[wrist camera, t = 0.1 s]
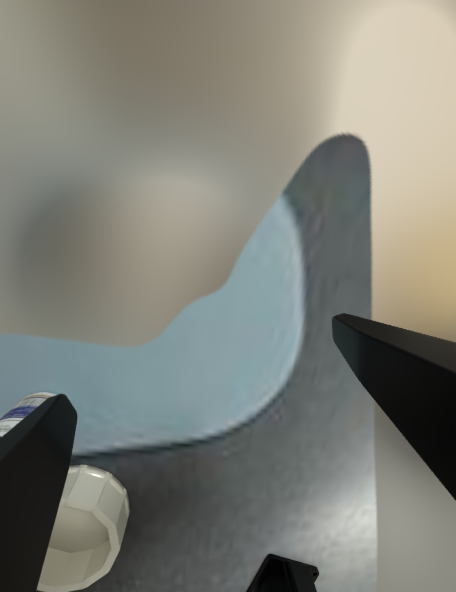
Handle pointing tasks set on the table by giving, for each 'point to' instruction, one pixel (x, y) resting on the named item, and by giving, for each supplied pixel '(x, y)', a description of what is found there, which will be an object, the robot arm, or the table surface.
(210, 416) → the table surface
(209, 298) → the table surface
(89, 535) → the bowl
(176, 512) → the table surface
